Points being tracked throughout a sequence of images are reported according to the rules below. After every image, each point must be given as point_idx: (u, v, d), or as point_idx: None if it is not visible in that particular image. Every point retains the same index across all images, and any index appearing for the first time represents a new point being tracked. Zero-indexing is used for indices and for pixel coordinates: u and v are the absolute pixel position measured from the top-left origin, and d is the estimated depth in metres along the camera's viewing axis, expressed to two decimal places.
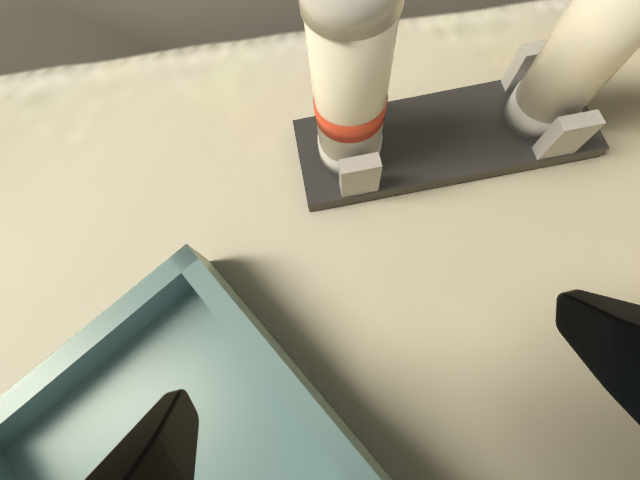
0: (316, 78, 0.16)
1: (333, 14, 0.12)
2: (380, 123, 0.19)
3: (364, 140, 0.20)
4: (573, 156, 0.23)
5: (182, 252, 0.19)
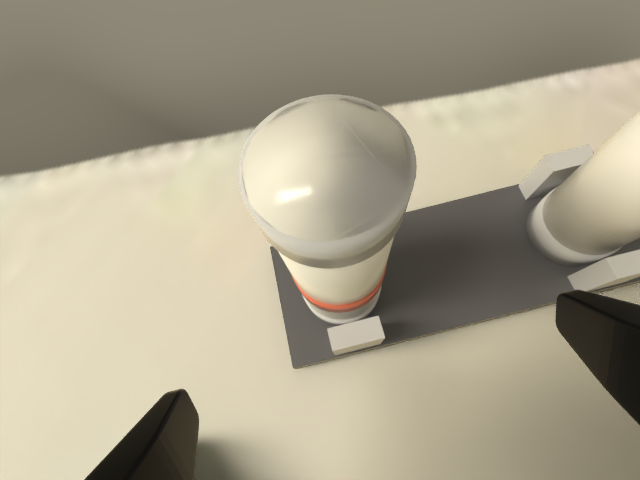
0: (288, 268, 0.12)
1: (301, 251, 0.08)
2: (379, 287, 0.15)
3: (359, 307, 0.15)
4: None
5: None
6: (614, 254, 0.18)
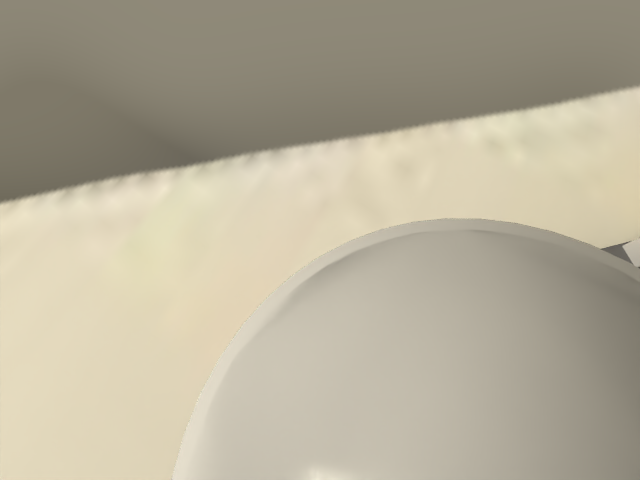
0: None
1: None
2: None
3: None
4: None
5: None
6: None
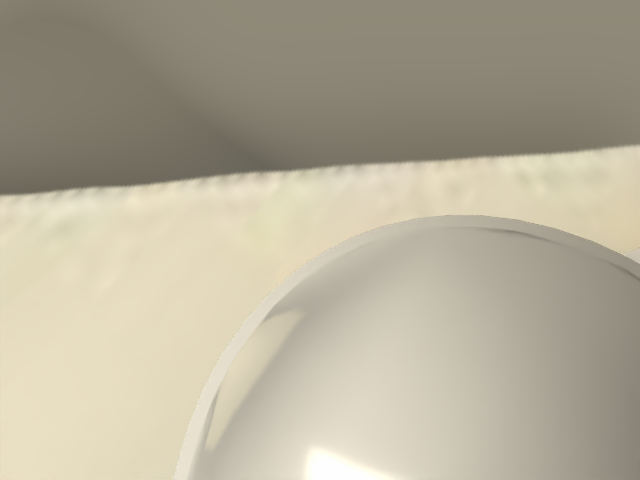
0: None
1: None
2: None
3: None
4: None
5: None
6: None
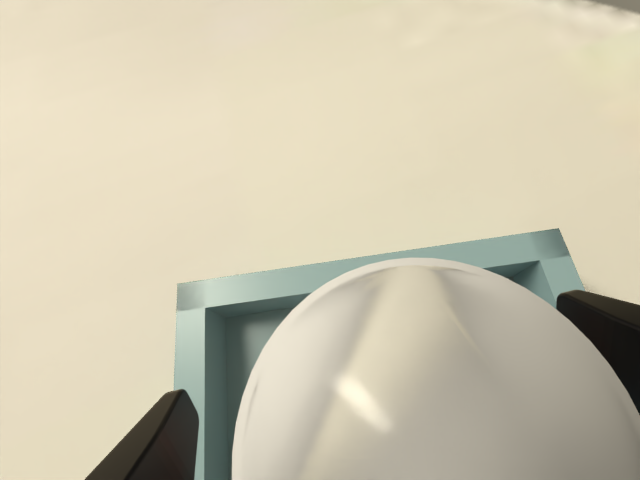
0: None
1: None
2: None
3: None
4: None
5: (549, 236, 0.14)
6: None
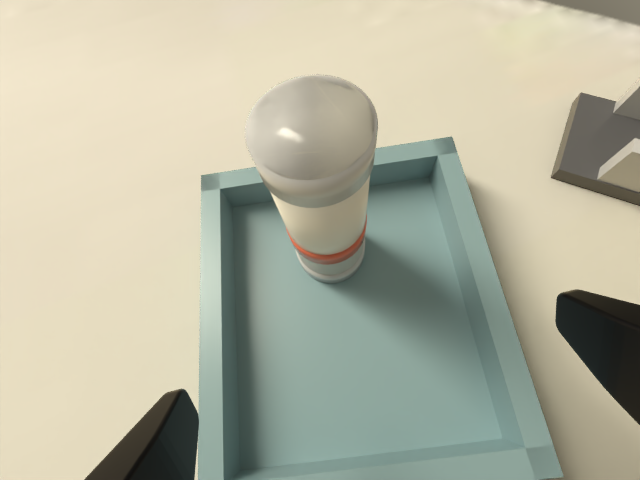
0: (283, 218, 0.14)
1: (292, 190, 0.11)
2: (360, 242, 0.17)
3: (344, 260, 0.18)
4: None
5: (445, 141, 0.21)
6: None
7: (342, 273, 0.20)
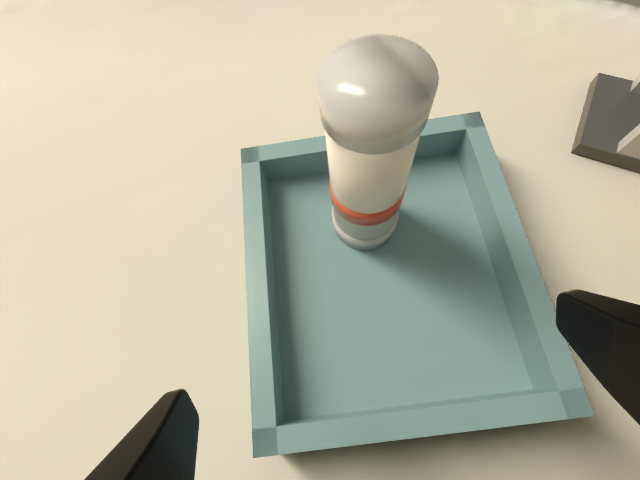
0: (336, 174, 0.16)
1: (361, 134, 0.12)
2: (399, 205, 0.19)
3: (383, 222, 0.19)
4: None
5: (473, 116, 0.22)
6: None
7: (378, 238, 0.21)
